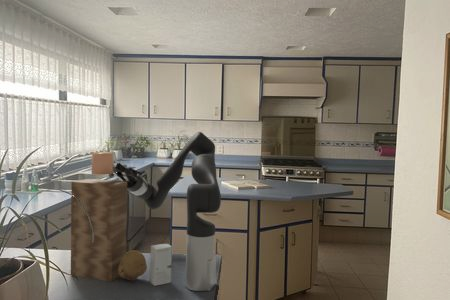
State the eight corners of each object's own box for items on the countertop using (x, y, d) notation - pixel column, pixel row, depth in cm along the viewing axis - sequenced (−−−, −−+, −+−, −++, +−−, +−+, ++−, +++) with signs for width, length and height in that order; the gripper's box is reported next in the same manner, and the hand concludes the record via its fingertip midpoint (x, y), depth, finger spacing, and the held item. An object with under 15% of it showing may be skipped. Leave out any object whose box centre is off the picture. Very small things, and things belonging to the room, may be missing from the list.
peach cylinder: (131, 170, 130) (131, 151, 130) (105, 175, 115) (105, 153, 115) (115, 169, 132) (115, 150, 132) (87, 173, 117) (87, 152, 117)
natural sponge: (152, 278, 118) (153, 249, 118) (133, 288, 111) (134, 257, 110) (132, 272, 123) (133, 244, 122) (113, 281, 115) (113, 252, 115)
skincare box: (154, 286, 113) (155, 249, 112) (149, 281, 116) (149, 245, 116) (171, 282, 116) (172, 246, 115) (166, 277, 120) (167, 242, 119)
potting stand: (125, 272, 123) (127, 181, 122) (111, 281, 115) (112, 184, 113) (87, 266, 128) (88, 178, 126) (70, 274, 120) (71, 181, 118)
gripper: (122, 173, 143) (99, 154, 128) (153, 175, 139) (133, 156, 124) (116, 190, 140) (92, 173, 125) (148, 193, 136) (127, 175, 121)
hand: (113, 164), depth 125 cm, fingers closed on peach cylinder, 3 cm apart
